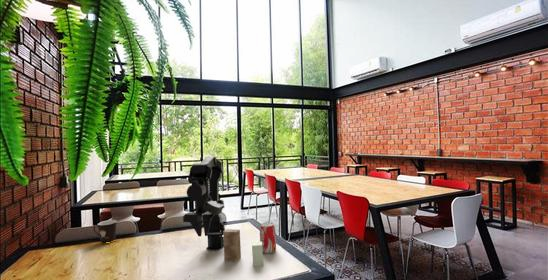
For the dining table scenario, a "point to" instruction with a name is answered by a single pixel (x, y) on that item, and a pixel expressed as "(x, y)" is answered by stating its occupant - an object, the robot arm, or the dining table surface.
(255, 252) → the sage block
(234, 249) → the walnut block
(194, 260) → the dining table surface
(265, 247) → the soda can
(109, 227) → the coffee mug
